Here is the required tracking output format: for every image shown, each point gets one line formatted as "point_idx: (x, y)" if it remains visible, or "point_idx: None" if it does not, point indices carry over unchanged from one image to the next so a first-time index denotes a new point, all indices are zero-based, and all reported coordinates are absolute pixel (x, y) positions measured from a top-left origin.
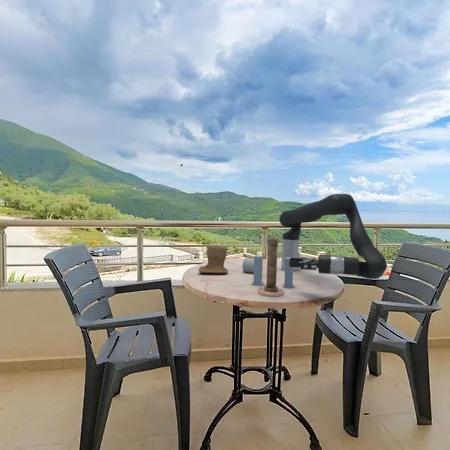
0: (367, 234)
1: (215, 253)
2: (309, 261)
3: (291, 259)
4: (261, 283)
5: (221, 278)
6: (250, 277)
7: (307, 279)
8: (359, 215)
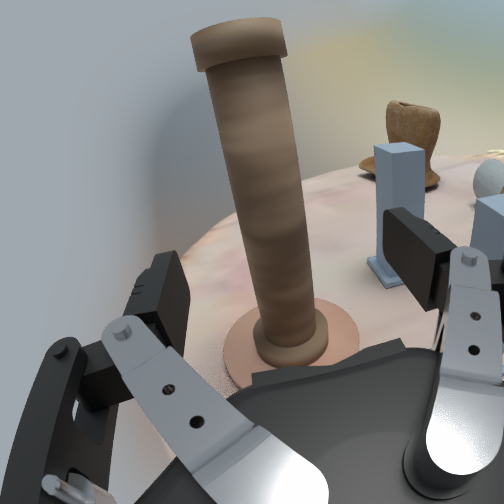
0: None
1: (392, 125)
2: (175, 448)
3: (388, 227)
4: (396, 276)
5: (370, 200)
6: (452, 229)
7: None
8: None
